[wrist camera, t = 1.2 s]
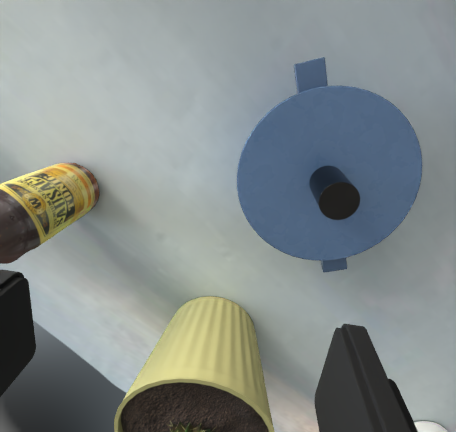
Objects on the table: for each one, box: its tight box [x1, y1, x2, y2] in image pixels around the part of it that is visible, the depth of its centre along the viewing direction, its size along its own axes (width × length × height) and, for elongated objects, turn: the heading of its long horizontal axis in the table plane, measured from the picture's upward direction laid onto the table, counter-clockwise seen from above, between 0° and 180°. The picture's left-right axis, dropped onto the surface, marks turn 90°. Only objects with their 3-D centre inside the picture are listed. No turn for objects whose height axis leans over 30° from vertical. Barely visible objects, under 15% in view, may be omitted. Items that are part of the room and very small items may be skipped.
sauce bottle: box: [0, 163, 99, 263], centre depth 29 cm, size 7×6×20 cm
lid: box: [237, 86, 422, 260], centre depth 28 cm, size 16×16×6 cm
